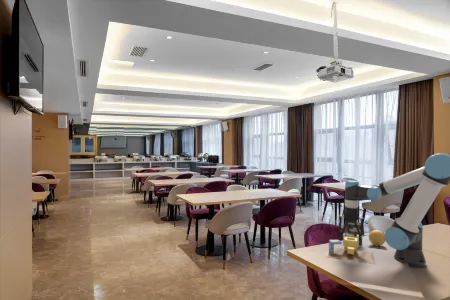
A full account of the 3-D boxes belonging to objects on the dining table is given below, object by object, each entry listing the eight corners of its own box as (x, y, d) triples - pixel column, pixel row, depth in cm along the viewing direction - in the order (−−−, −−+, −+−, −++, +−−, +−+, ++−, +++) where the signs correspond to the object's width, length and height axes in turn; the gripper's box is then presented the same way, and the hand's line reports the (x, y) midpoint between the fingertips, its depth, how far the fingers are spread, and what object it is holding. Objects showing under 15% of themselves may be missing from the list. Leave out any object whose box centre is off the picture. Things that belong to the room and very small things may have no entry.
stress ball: (373, 249, 196) (387, 241, 192) (363, 235, 201) (376, 227, 197) (377, 247, 203) (390, 240, 199) (367, 234, 208) (380, 226, 204)
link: (357, 255, 172) (357, 244, 172) (344, 253, 175) (344, 242, 175) (356, 248, 184) (357, 238, 184) (344, 246, 187) (344, 236, 187)
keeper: (338, 250, 184) (338, 239, 184) (341, 253, 180) (341, 242, 180) (328, 250, 184) (328, 239, 184) (331, 253, 179) (331, 242, 179)
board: (372, 254, 182) (372, 252, 182) (375, 266, 163) (375, 264, 163) (329, 249, 191) (329, 247, 191) (327, 260, 172) (327, 257, 172)
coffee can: (363, 247, 195) (364, 225, 195) (346, 246, 197) (346, 224, 197) (360, 243, 205) (361, 221, 205) (344, 241, 207) (344, 220, 207)
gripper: (369, 207, 182) (368, 246, 182) (333, 204, 189) (333, 241, 190) (370, 209, 175) (369, 249, 175) (333, 206, 182) (332, 245, 183)
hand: (350, 245), depth 182 cm, fingers closed on link, 7 cm apart
